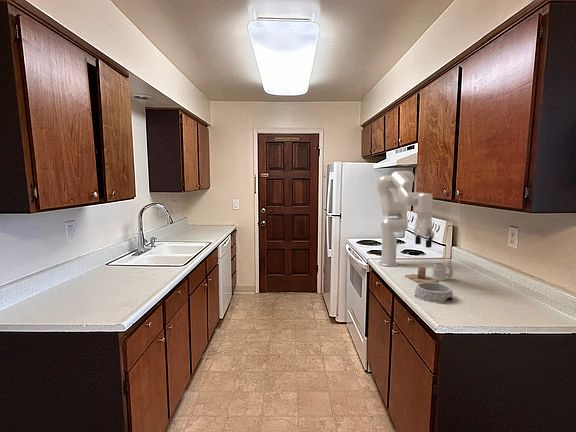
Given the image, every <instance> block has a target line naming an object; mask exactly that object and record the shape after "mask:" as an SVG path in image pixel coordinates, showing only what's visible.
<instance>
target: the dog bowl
mask: <svg viewBox="0 0 576 432" xmlns="http://www.w3.org/2000/svg"><path fill="white" fill-rule="evenodd" d="M414 297H415V298H417V299H419V300H421V301H423V300H424V302H427V301H428V302H429V303H433V302H436V303H435V304H445V301H446V300H448V299H449V298H450V299H452V301H454V294H453V288H452V287H450V286H449V285H447V284H444V283H442V282H441V283H440V282H439V283H435V282H421V283H416V287H415V290H414Z"/></svg>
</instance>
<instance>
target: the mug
mask: <svg viewBox="0 0 576 432" xmlns="http://www.w3.org/2000/svg"><path fill="white" fill-rule="evenodd" d="M447 267H448V269H449V270H448V271H449V272H448V273H447ZM453 272H454V268H453V265H452V260H451V259H449V260H448V262H447V263H444V262H433V267H432V275H431V278H433V279H435V280H437V281H439V282H443V281H446V280H447V278H448V279H451V278H452V277H453Z"/></svg>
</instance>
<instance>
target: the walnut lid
mask: <svg viewBox="0 0 576 432" xmlns="http://www.w3.org/2000/svg"><path fill="white" fill-rule="evenodd" d="M426 270H427V268H426V267H424V266H418V269H417V274H406V275H404V277H405V278H406V279H409V280H410V279H411V281H412V280H413V282H414V281H415V282H414V283H416V282H417V283H416V284H418V283H421V282H435V283H440V281H437V280H435V279H433V278H432V276H431V277H430V276H428V275H426V272H427V271H426Z"/></svg>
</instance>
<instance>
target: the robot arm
mask: <svg viewBox="0 0 576 432" xmlns="http://www.w3.org/2000/svg"><path fill="white" fill-rule="evenodd" d="M414 181H415V174H414V173H413V171H410V170H396V171H393V172H392V173H391V175H383V176H380V177H379V178H378V179H377V185H376V187H377V191H378V193H379V197H380V205H381V213H382V216H385V217H386V218H383V219H382V221H381V222H380V227H381V236H382V237H381V256H380V261H378V265H380V266H384V267H397V266H399V262H398V261H397V241H398V239H397V236H396V235H395V233H403V232H406V231H407V230H408V228H409V227H408V226H409V223H408V215H407V214H408V213H407V208H406V206H417V209H416V211H417V214H416V219H415V225H414V228H413V232H414V237H415V239H414V240H415V242H414V245H421V244H422V243H421V242H422V237H425V238H426V240H425V248H429V249H430V248H432V246H433V245H432V243H433V242H432V241H433V239H434V237H435V232H434V231H433V219H432V217H433V216H432V215H433V213H432V212H433V194H432V193H429V192H427V193H426V192H413V191H412V192H410V191H411V190H412V189H413V185H414V184H413V183H414ZM390 189H397V197H398V199H399V200H400V201H395V198H394V194H393V192H392V191H391V190H390Z"/></svg>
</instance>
